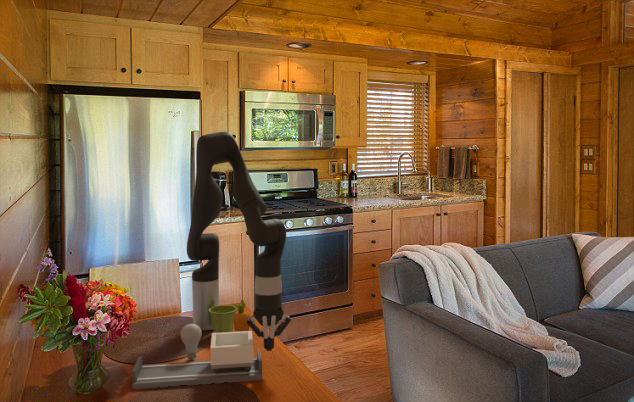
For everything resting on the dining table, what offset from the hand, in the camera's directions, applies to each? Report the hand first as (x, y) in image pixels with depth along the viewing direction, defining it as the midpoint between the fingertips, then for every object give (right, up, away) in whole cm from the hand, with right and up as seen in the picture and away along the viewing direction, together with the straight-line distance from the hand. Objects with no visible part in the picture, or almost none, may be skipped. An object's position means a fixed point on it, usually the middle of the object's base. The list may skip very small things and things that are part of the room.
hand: (268, 349), depth 146 cm
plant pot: (-18, -3, +30) cm, 35 cm away
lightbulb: (-24, -5, +8) cm, 26 cm away
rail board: (-19, -6, -3) cm, 20 cm away
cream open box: (-10, -4, -1) cm, 11 cm away
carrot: (-10, -4, +18) cm, 21 cm away
